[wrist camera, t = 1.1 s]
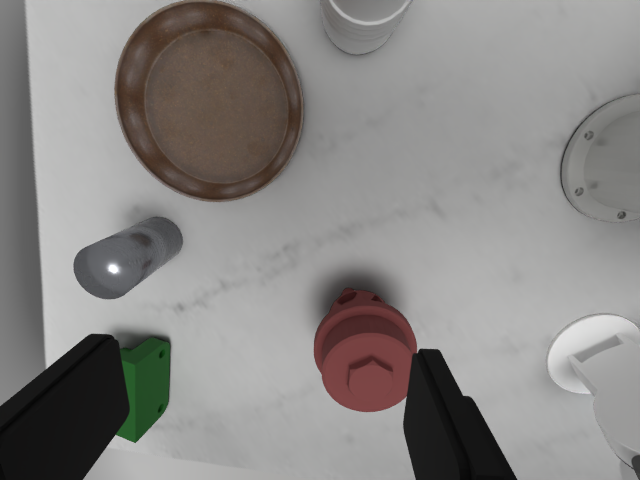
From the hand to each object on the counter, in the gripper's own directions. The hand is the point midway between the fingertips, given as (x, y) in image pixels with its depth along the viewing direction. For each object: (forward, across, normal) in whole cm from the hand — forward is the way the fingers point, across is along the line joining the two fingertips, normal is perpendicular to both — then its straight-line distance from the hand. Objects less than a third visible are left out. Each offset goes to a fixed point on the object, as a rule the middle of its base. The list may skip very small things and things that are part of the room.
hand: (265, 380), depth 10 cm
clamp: (+27, +22, +22) cm, 41 cm away
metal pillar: (+26, +17, +4) cm, 32 cm away
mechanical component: (+27, -6, +12) cm, 30 cm away
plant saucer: (+27, +10, -10) cm, 30 cm away
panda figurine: (+27, -35, +17) cm, 48 cm away
